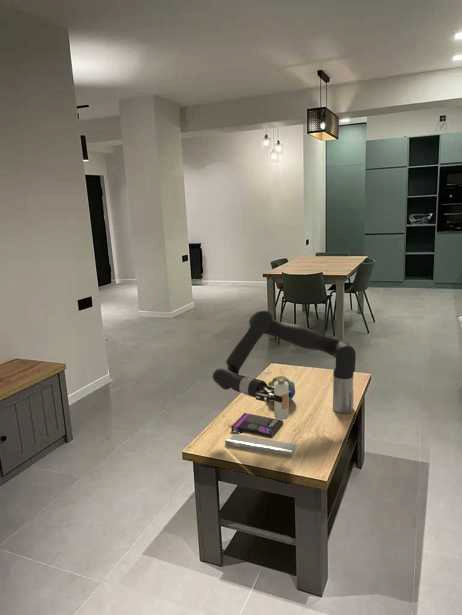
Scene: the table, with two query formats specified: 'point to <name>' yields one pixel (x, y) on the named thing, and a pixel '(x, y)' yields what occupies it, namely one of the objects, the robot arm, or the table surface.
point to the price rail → (258, 447)
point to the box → (257, 425)
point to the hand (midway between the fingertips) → (286, 397)
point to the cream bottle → (283, 408)
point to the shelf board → (264, 442)
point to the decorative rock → (290, 385)
